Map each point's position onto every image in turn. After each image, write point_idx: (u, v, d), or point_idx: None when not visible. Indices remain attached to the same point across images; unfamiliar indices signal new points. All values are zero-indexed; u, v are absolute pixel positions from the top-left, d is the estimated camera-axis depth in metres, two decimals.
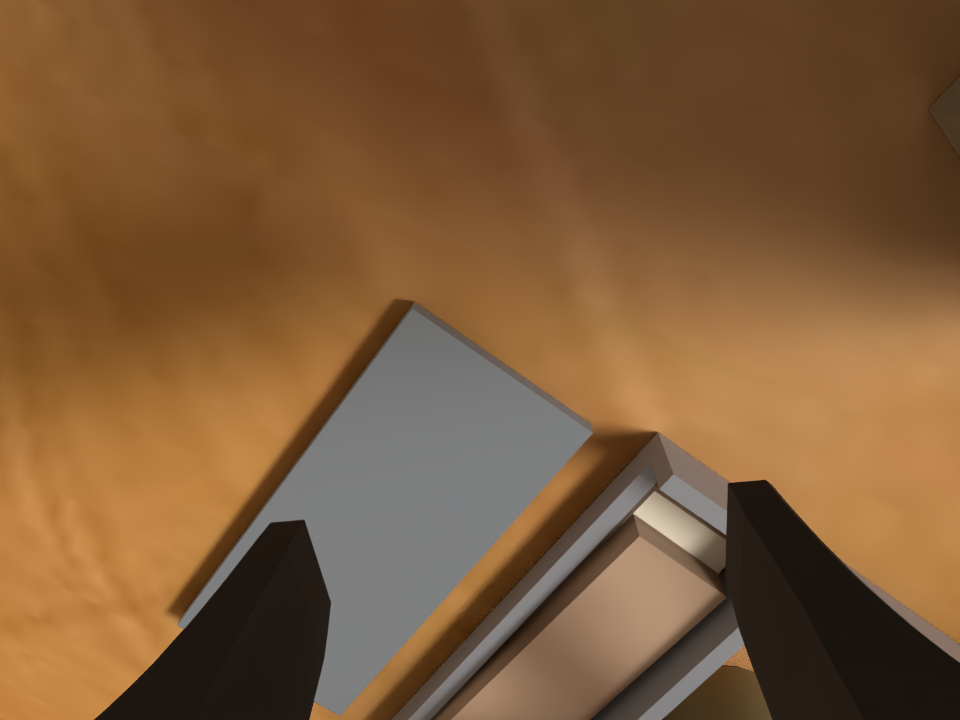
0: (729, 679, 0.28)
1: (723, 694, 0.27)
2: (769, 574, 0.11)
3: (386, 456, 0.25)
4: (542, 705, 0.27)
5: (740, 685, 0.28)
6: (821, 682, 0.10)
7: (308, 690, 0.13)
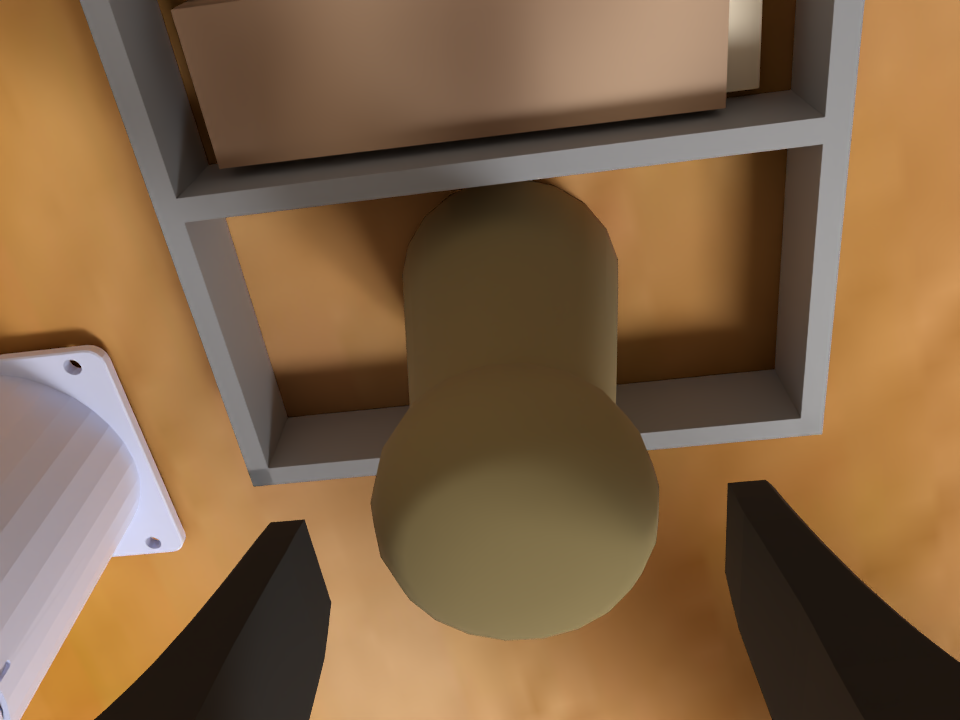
0: (598, 229, 0.22)
1: (590, 231, 0.21)
2: (769, 574, 0.11)
3: None
4: (415, 72, 0.19)
5: (605, 241, 0.21)
6: (821, 682, 0.10)
7: (309, 691, 0.13)
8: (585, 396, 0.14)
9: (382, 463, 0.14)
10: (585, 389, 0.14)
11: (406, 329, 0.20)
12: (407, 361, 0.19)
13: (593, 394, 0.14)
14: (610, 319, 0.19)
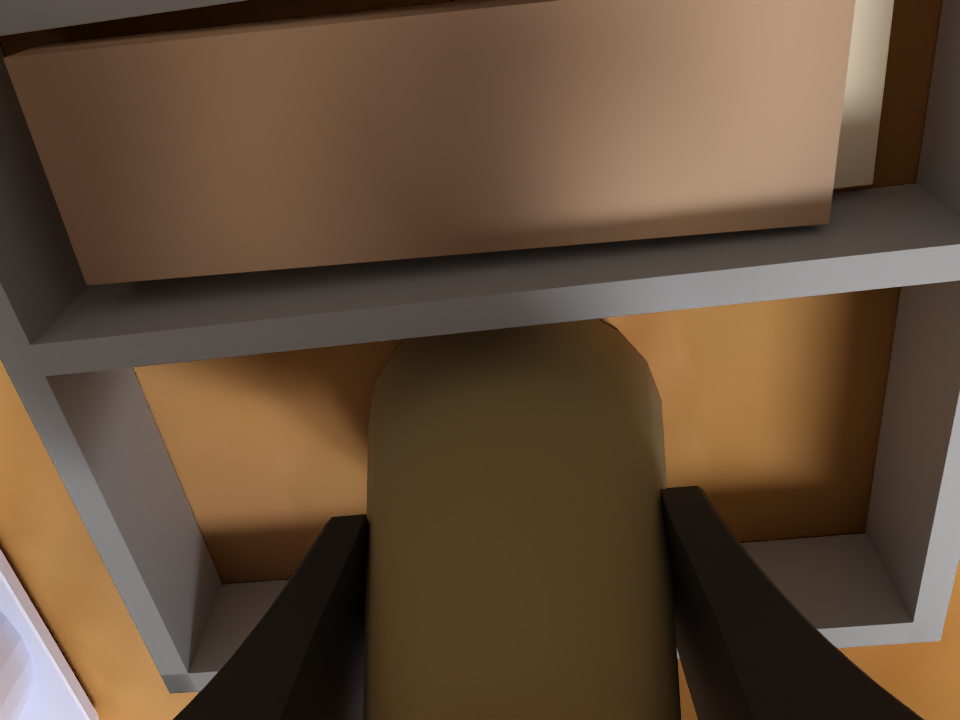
0: (636, 366, 0.15)
1: (627, 376, 0.15)
2: (690, 580, 0.12)
3: None
4: (372, 159, 0.12)
5: (647, 384, 0.15)
6: (729, 688, 0.10)
7: None
8: None
9: None
10: None
11: None
12: None
13: None
14: (662, 526, 0.13)
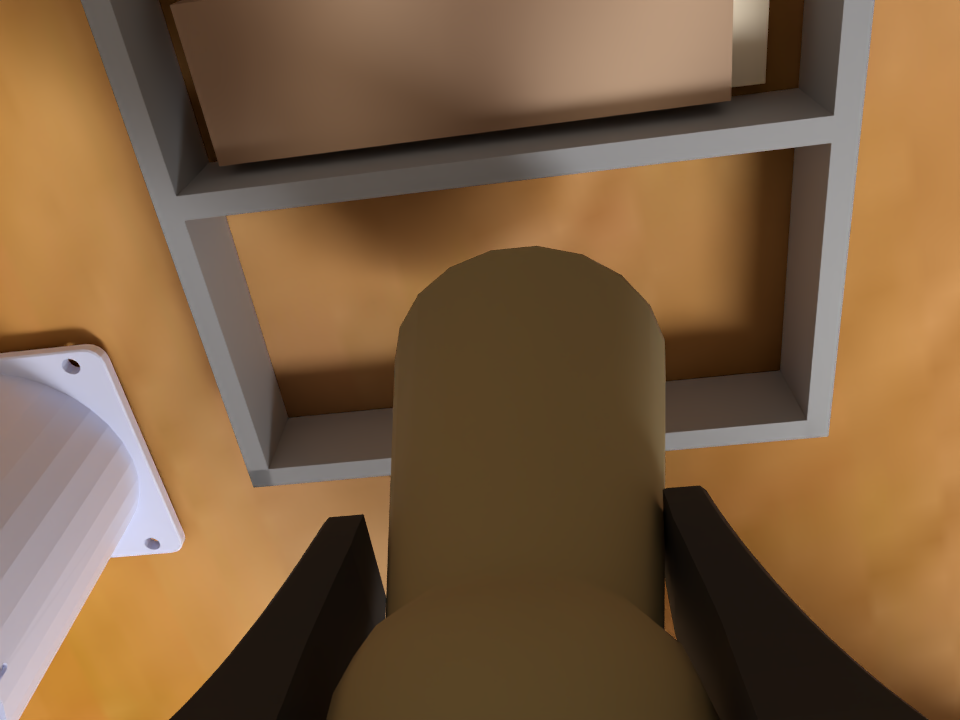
0: (638, 308, 0.17)
1: (628, 315, 0.16)
2: (694, 580, 0.12)
3: None
4: (415, 66, 0.18)
5: (648, 324, 0.17)
6: (733, 688, 0.10)
7: None
8: (619, 649, 0.09)
9: None
10: (618, 631, 0.10)
11: (392, 452, 0.16)
12: None
13: (630, 638, 0.10)
14: (655, 447, 0.14)
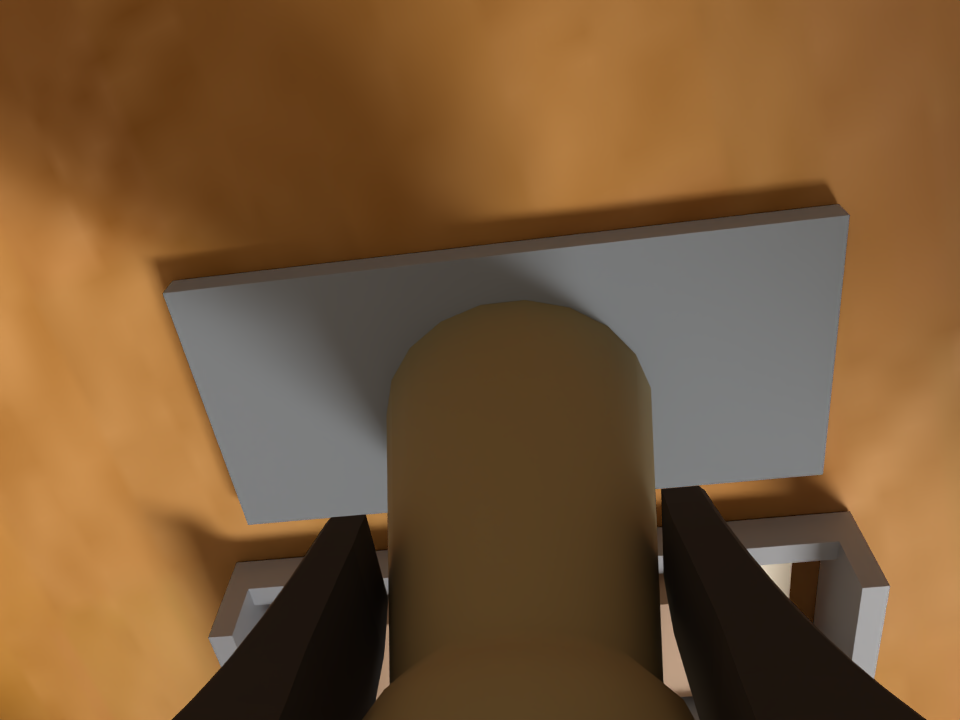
0: (625, 358, 0.17)
1: (616, 367, 0.17)
2: (692, 580, 0.12)
3: (628, 329, 0.17)
4: None
5: (635, 374, 0.17)
6: (731, 688, 0.10)
7: (371, 687, 0.13)
8: (625, 709, 0.10)
9: None
10: (624, 691, 0.10)
11: (388, 507, 0.16)
12: (388, 561, 0.15)
13: (636, 698, 0.10)
14: (648, 498, 0.15)
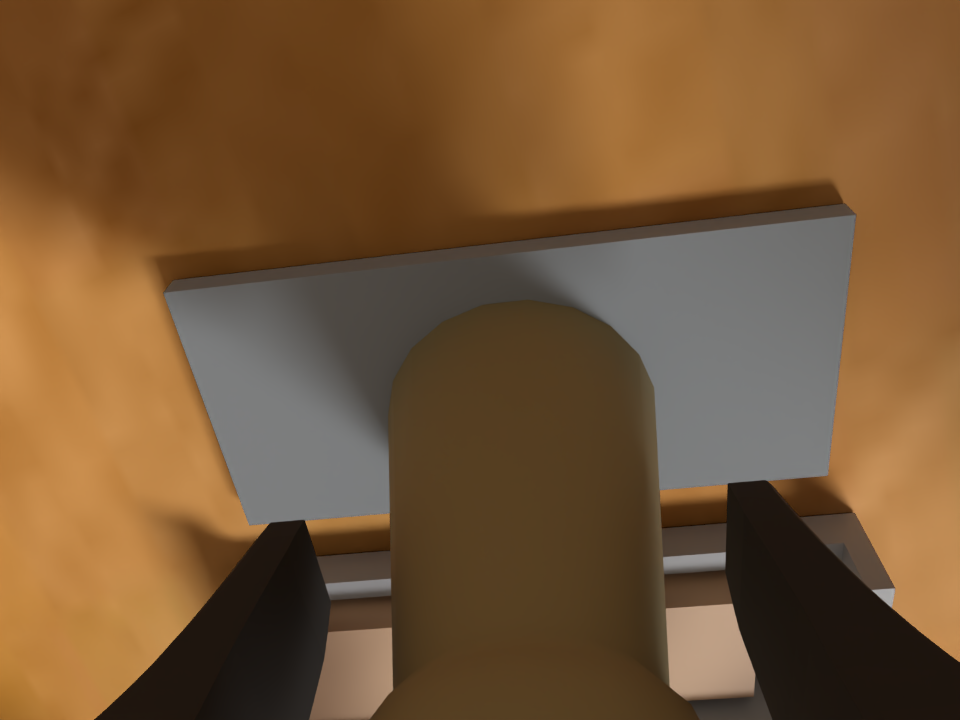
0: (628, 358, 0.17)
1: (619, 367, 0.16)
2: (769, 574, 0.11)
3: (632, 330, 0.17)
4: None
5: (638, 374, 0.17)
6: (821, 682, 0.10)
7: (308, 691, 0.13)
8: (633, 715, 0.10)
9: None
10: (631, 697, 0.10)
11: (390, 509, 0.16)
12: None
13: (643, 703, 0.10)
14: (652, 499, 0.15)
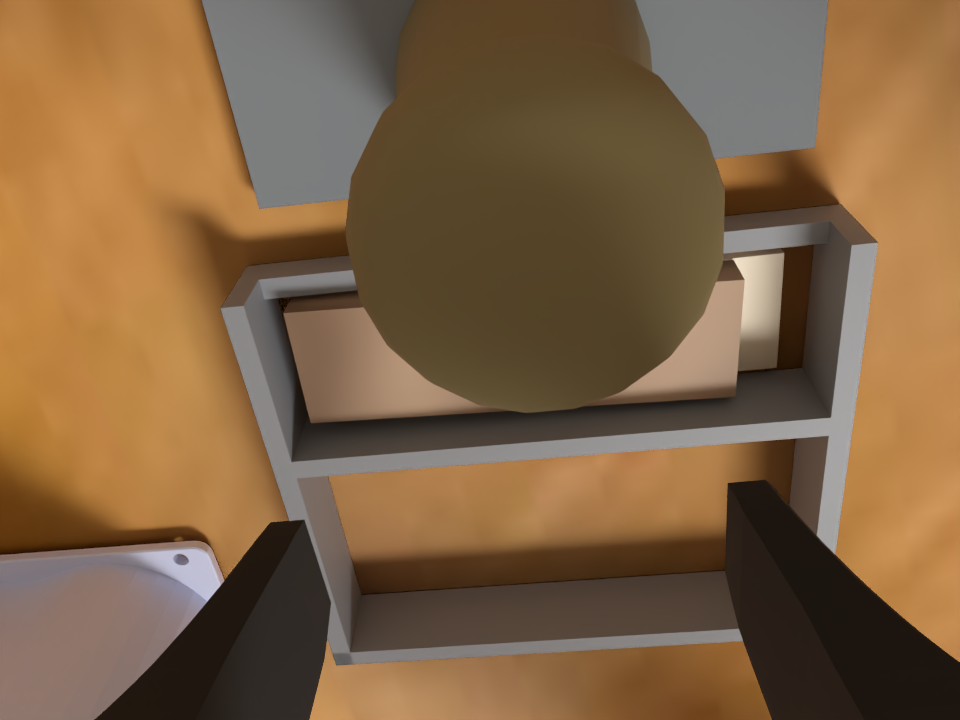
0: None
1: None
2: (769, 574, 0.11)
3: None
4: None
5: (635, 8, 0.18)
6: (821, 682, 0.10)
7: (308, 690, 0.13)
8: (623, 58, 0.10)
9: (356, 167, 0.11)
10: (623, 55, 0.11)
11: None
12: None
13: (634, 61, 0.11)
14: (646, 69, 0.15)
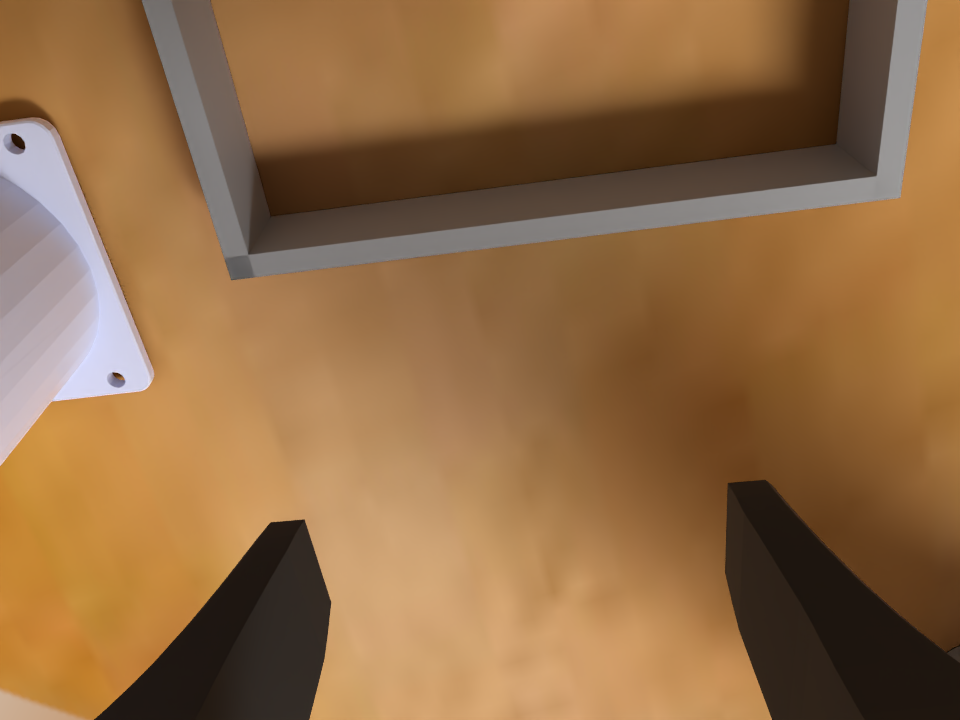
0: None
1: None
2: (769, 574, 0.11)
3: None
4: None
5: None
6: (821, 682, 0.10)
7: (308, 690, 0.13)
8: None
9: None
10: None
11: None
12: None
13: None
14: None
